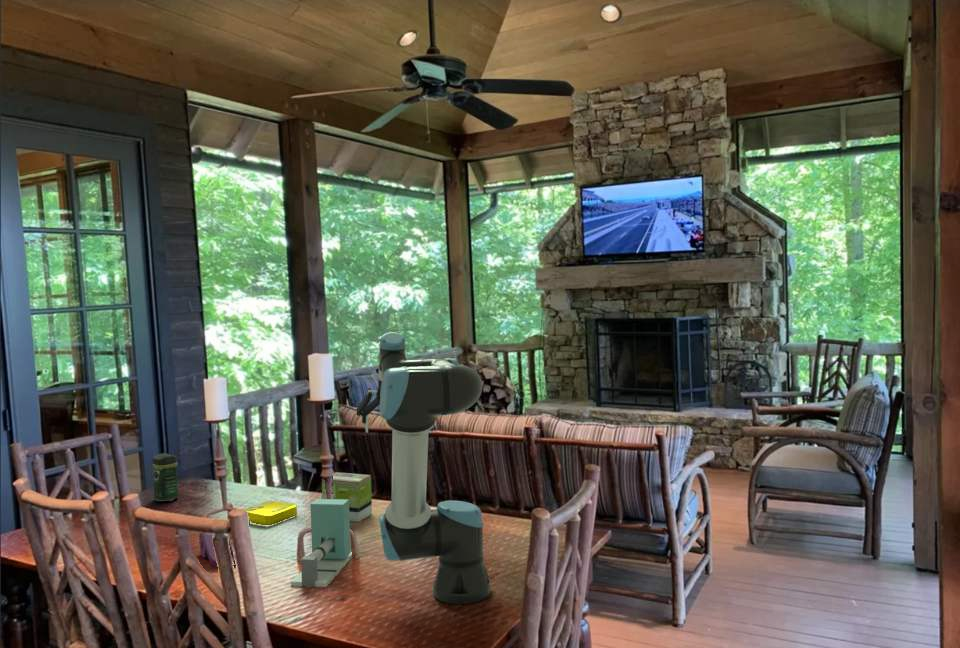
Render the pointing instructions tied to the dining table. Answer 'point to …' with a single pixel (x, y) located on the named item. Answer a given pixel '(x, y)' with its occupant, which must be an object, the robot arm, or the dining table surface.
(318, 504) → the sleeve
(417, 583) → the dining table surface
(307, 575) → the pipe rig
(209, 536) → the mounting bracket
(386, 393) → the robot arm
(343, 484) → the tea box
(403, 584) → the dining table surface
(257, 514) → the element tile
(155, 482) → the coffee jar
